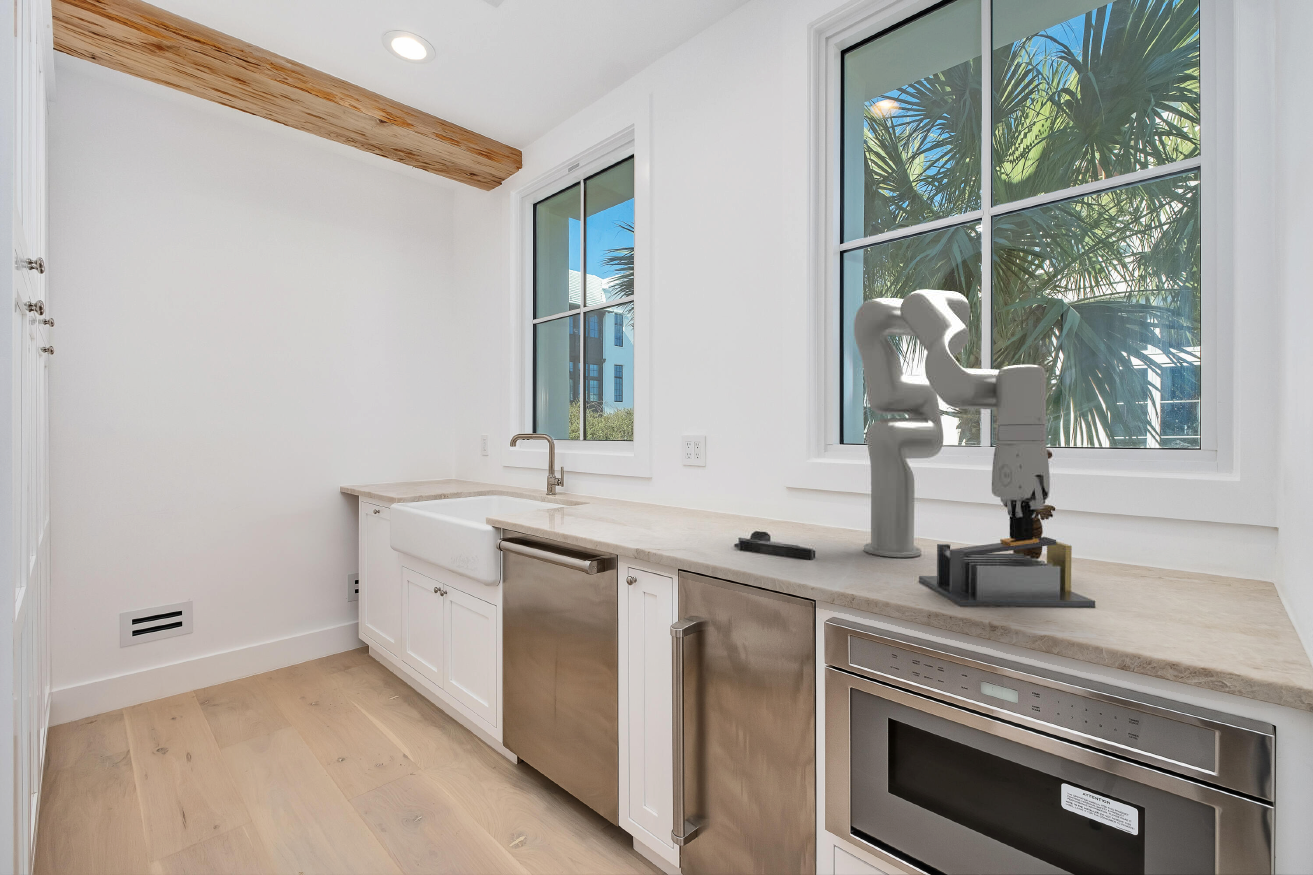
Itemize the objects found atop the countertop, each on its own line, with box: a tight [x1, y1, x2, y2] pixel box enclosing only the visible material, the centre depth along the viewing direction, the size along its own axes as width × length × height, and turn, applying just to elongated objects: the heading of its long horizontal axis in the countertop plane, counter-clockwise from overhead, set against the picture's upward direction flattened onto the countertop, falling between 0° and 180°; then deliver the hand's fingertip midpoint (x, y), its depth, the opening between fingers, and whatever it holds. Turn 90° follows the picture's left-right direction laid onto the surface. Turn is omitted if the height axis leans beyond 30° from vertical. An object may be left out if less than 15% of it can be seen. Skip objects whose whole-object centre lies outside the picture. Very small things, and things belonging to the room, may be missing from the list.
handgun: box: [733, 530, 816, 561], centre depth 142 cm, size 3×21×12 cm
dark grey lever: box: [941, 536, 1057, 558], centre depth 105 cm, size 19×4×2 cm, turn 89°
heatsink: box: [918, 540, 1096, 608], centre depth 105 cm, size 22×16×9 cm
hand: (1021, 538), depth 105 cm, fingers closed
